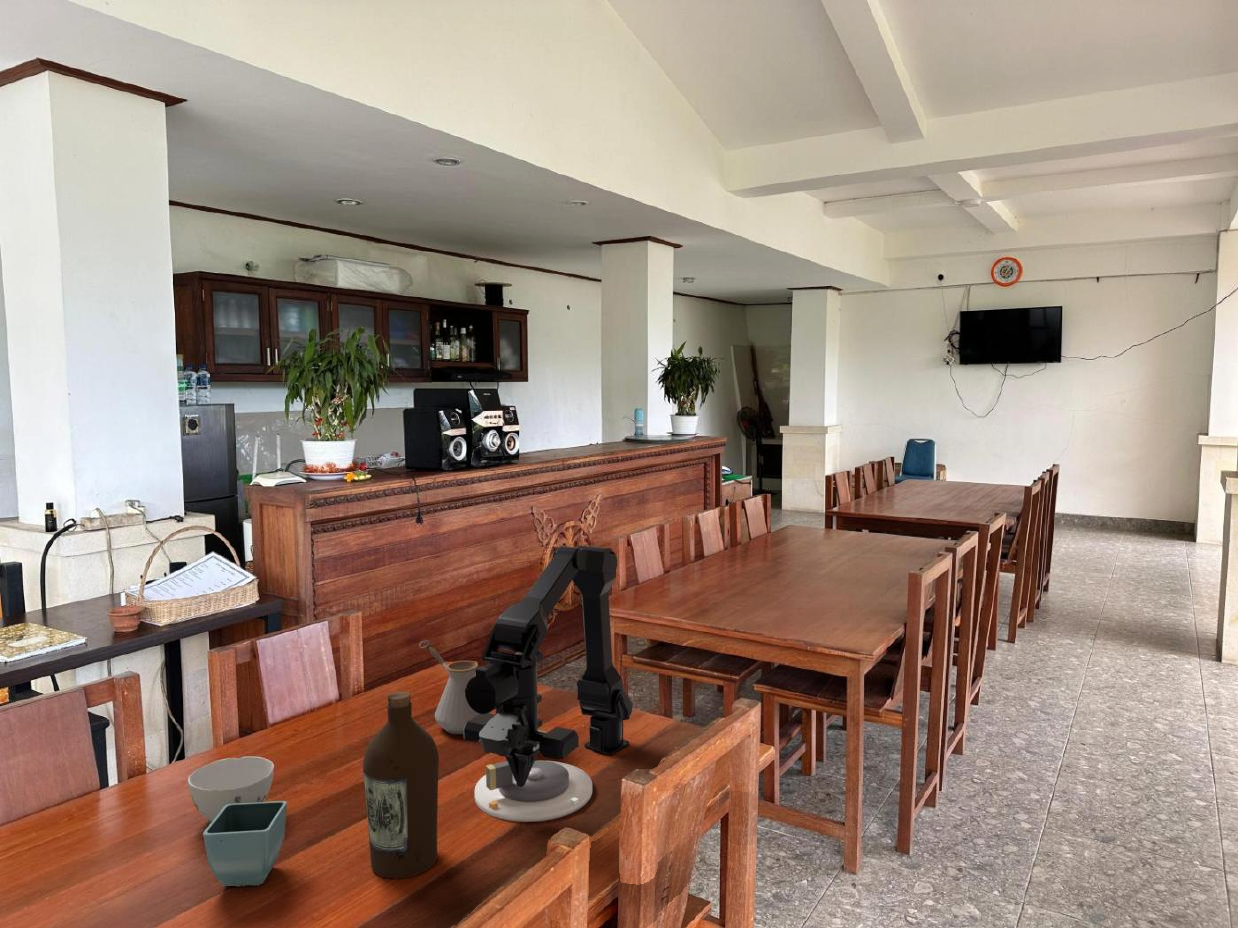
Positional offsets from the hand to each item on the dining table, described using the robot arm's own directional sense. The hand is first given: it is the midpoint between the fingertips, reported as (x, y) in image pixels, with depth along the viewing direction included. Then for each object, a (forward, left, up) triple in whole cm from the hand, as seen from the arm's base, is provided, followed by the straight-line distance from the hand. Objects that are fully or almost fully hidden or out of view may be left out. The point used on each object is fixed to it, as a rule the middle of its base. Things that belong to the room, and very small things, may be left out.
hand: (521, 785), depth 137 cm
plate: (-6, -3, -4) cm, 8 cm away
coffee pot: (-18, -39, -5) cm, 44 cm away
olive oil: (+21, -3, -5) cm, 22 cm away
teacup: (+30, -36, -5) cm, 47 cm away
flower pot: (+37, -17, -5) cm, 41 cm away
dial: (-5, -4, -3) cm, 7 cm away
